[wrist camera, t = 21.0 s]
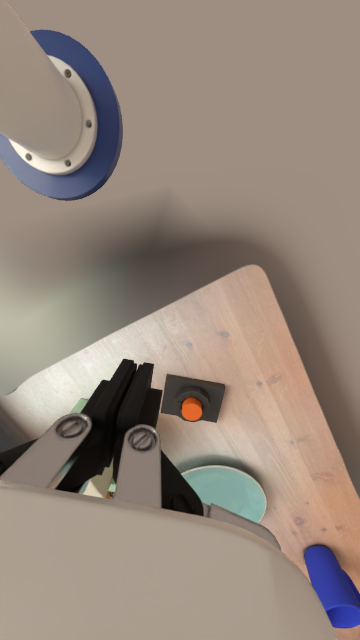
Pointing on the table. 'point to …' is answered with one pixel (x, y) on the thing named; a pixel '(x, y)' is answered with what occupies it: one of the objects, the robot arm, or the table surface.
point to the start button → (191, 409)
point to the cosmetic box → (100, 483)
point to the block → (187, 388)
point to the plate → (228, 490)
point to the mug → (333, 587)
